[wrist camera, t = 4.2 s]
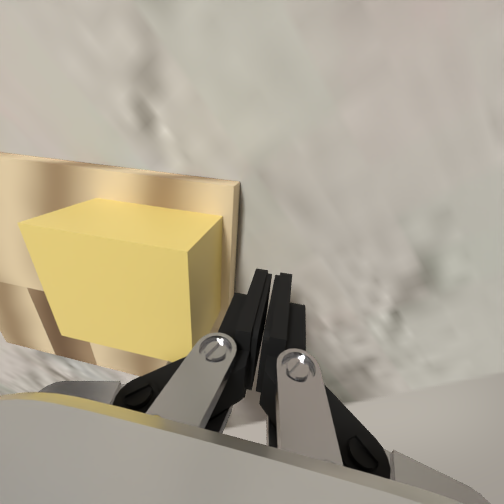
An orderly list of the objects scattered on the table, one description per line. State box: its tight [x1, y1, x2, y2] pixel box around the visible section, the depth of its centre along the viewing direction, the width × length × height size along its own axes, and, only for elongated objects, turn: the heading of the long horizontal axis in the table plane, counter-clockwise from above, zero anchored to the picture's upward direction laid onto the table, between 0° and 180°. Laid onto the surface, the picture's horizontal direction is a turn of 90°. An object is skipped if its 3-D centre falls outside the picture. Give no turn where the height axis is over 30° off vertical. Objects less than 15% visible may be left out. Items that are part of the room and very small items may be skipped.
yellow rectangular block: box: [17, 198, 223, 362], centre depth 12 cm, size 7×6×4 cm
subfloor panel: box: [0, 152, 240, 376], centre depth 17 cm, size 20×16×1 cm
